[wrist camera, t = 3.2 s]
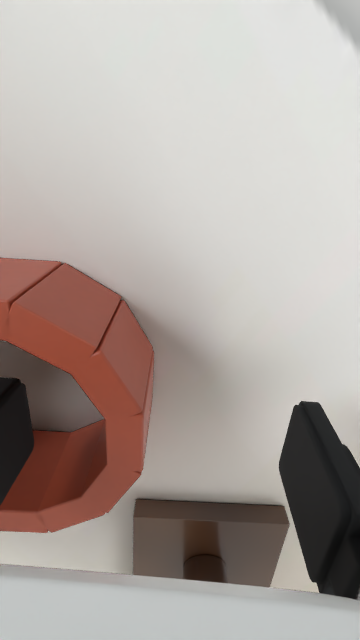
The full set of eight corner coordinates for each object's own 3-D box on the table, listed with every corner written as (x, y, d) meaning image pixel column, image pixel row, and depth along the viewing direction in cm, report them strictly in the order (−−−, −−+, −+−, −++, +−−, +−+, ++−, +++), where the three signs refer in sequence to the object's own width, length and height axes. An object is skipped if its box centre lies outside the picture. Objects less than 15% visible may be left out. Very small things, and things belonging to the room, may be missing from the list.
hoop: (-44, 444, 16) (-113, 526, 12) (-102, 250, 12) (-231, 285, 8) (150, 454, 16) (141, 538, 12) (157, 267, 12) (146, 309, 8)
